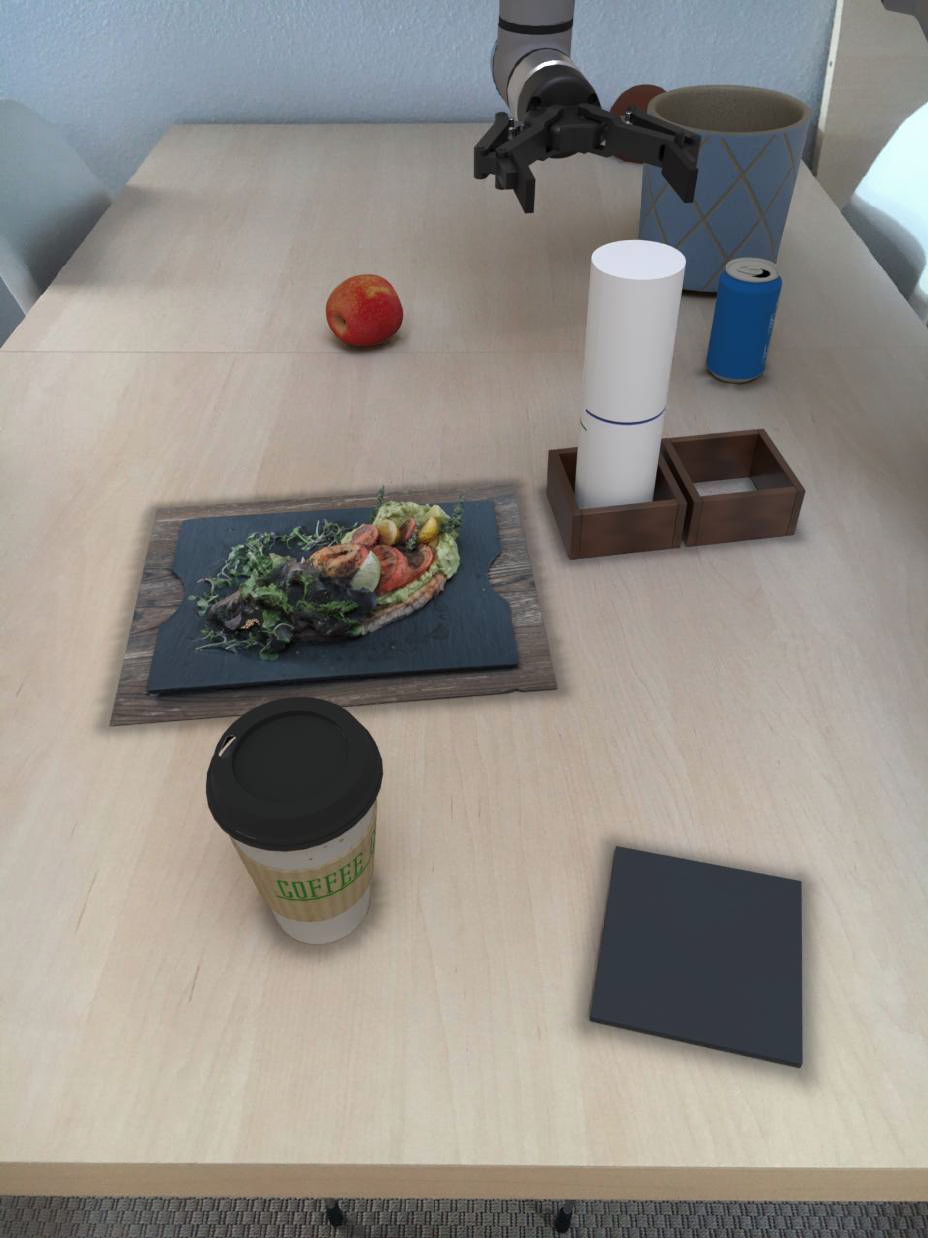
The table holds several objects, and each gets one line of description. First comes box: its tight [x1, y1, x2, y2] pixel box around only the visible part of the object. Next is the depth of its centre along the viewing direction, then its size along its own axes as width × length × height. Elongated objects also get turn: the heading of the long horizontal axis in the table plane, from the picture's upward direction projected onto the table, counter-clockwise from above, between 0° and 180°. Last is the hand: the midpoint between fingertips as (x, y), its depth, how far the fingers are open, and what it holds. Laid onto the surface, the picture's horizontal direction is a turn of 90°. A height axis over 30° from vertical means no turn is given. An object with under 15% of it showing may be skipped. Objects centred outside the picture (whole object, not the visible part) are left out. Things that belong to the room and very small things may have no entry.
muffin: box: [608, 83, 668, 164], centre depth 160 cm, size 12×11×10 cm
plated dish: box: [108, 483, 558, 727], centre depth 84 cm, size 35×28×7 cm
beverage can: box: [705, 258, 783, 384], centre depth 108 cm, size 6×6×12 cm
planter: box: [637, 84, 812, 293], centre depth 124 cm, size 19×19×20 cm
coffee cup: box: [205, 697, 384, 945], centre depth 59 cm, size 10×10×15 cm
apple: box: [325, 273, 404, 347], centre depth 116 cm, size 8×8×8 cm
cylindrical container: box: [574, 239, 686, 509], centre depth 84 cm, size 7×7×25 cm
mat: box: [589, 845, 804, 1069], centre depth 61 cm, size 12×12×1 cm
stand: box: [545, 428, 807, 560], centre depth 91 cm, size 21×10×5 cm, turn 98°
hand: (611, 191), depth 81 cm, fingers open, 13 cm apart
